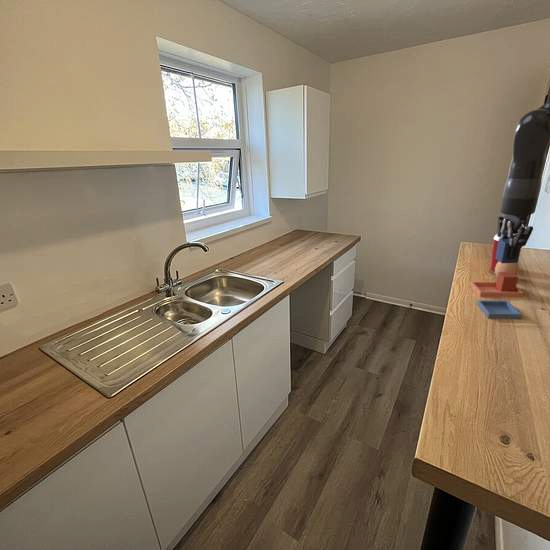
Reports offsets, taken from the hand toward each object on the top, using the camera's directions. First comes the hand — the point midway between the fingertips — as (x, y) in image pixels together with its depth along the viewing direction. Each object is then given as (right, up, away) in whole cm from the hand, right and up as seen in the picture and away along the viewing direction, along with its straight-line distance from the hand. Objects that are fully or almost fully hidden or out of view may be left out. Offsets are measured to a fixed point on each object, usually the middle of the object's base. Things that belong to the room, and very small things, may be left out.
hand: (507, 255), depth 86 cm
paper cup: (+21, -4, +31) cm, 37 cm away
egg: (+17, -7, +23) cm, 30 cm away
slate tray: (0, -17, +4) cm, 17 cm away
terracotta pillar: (+11, -11, +15) cm, 21 cm away
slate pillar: (0, -1, +1) cm, 1 cm away
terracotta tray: (+8, -11, +16) cm, 21 cm away
